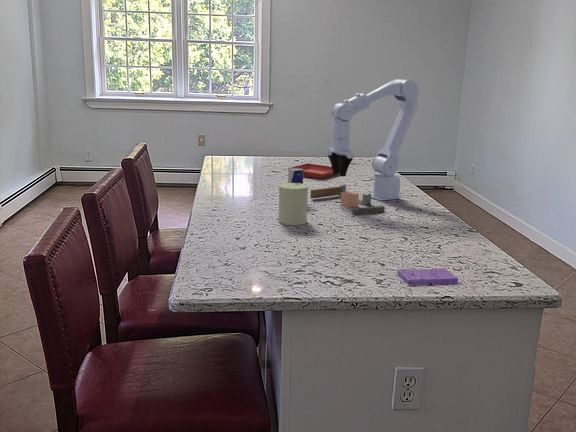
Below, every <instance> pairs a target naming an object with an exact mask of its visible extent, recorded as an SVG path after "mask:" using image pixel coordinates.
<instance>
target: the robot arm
mask: <svg viewBox="0 0 576 432" xmlns="http://www.w3.org/2000/svg"><path fill="white" fill-rule="evenodd" d="M419 93H420V88H419V87H418V84H417V83H416V82H415V81H414V80H413V79H403V78H402V79H401V78H396V79H394V80H391V81H388V82H386V83H385V84H383V85H382V86H380V87H378V88H376V89H374V90H372V91H371V92H369V93H367V94H365V93H363V92H362V93H360V92H358V93H356V94H355V95H354V96H353V97H351V98H349V99H344V100H343V103H341V102H338V103H336V104H334V106H333V108H332V110H331V116H332V118H333V130H332V133H333V134H332V146H329V147H327V153H330V154H328V155H327V158H328V160H329V162H330V165H331V167H332V170H333V174H336V175H339V177H341V178H342V177H346V176H347V172H348V170H349V166H350V165H351V163H352V161H353V160H354V158H355V152H353V151H351V150H350V145H349V144H350V128H351V127H350V126H351V119H353V117H354V116H355V115H357V114H359V113H361V112H363V111H365V110H366V109H369V108H370V105H371V104H372V103H374V102H376V101H378V100H380V99H383V98H386V97H388V96H393V98H395V99H396V100H397V102H398V104H399V106H400V108H399V111H398V114H397V116H396V118H395V120H394V123H393V125H392V127H391V130H390V132H389V135H388V136H387V139H386V141H385V144H384V146H383V147H382V148H381V149H379V150H378V152H377V153H376V155H375V156H374V157H373V158H372V161H371V167H372V169H373V170H374V173H373V190H372V195H371V199H375V200H378V201H380V202H381V201H388V200H400V199H401V197H400V191H401V190H400V189H401V188H400V187H401V180H400V176H399V175H398V174H397V171H398V169H399V161H400V155H399V150H400V148H401V145H402V143H403V141H404V139H405V136H406V134H407V131H408V130H409V126H410V125H411V123H412V120H413V118H414V115H415V113H416V110H417V108H418V95H419Z"/></svg>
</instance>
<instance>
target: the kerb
mask: <svg viewBox="0 0 576 432" xmlns="http://www.w3.org/2000/svg"><path fill="white" fill-rule="evenodd" d="M385 207H386V206H384V205H375V206H365V207H357V208H352V215H354V216H360V215H368V214H376V213H377V214H378V213H385V212H386V211H385Z"/></svg>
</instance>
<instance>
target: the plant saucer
mask: <svg viewBox="0 0 576 432" xmlns="http://www.w3.org/2000/svg"><path fill="white" fill-rule="evenodd" d="M290 168H301V169H303V178H310V179H311V178H312V179H317V180H322V179H325V178H329V177H332V176H335V175H337V174H333V170H332V166H329V165H323V164H315V163H310V162H309V163H308V162H307V163H303V164H299V165H295V166H292V167H287V170H288V171H289V169H290Z"/></svg>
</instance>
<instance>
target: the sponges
mask: <svg viewBox="0 0 576 432" xmlns="http://www.w3.org/2000/svg"><path fill="white" fill-rule="evenodd" d="M397 274H398V275H397V276H398V277H399V276H400V277H399V278H400V279H401V278H402V279H403V280H404V283H405V284H406V285H408V284H410V285H431V284H430V283H438V284H456V283H457V282H459V277H457V276H456V275H455V274H453V273H451V272H450V271H449V270H448V269H446V268H422V269H421V268H419V269H417V268H416V269H415V268H412V269H411V268H408V269H406V268H398V269H397ZM403 280H402V281H403Z"/></svg>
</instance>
